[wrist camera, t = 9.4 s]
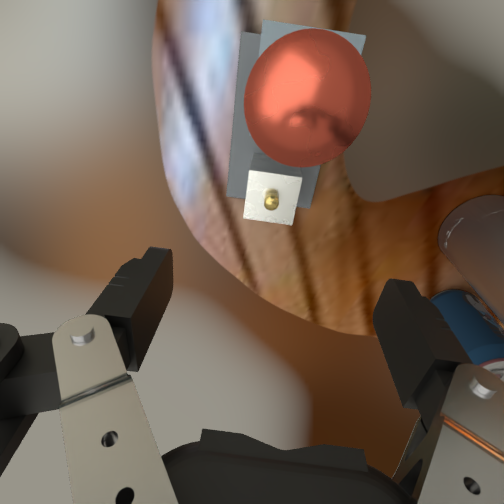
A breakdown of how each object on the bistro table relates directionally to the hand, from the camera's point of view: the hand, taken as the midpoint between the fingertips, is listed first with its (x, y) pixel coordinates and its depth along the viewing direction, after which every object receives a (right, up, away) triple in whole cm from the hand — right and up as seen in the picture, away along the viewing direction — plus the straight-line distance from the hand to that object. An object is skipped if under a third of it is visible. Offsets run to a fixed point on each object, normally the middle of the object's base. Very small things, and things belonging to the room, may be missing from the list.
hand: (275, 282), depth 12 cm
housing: (+1, +9, +23) cm, 25 cm away
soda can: (+27, -6, +33) cm, 43 cm away
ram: (+2, +14, +12) cm, 19 cm away
